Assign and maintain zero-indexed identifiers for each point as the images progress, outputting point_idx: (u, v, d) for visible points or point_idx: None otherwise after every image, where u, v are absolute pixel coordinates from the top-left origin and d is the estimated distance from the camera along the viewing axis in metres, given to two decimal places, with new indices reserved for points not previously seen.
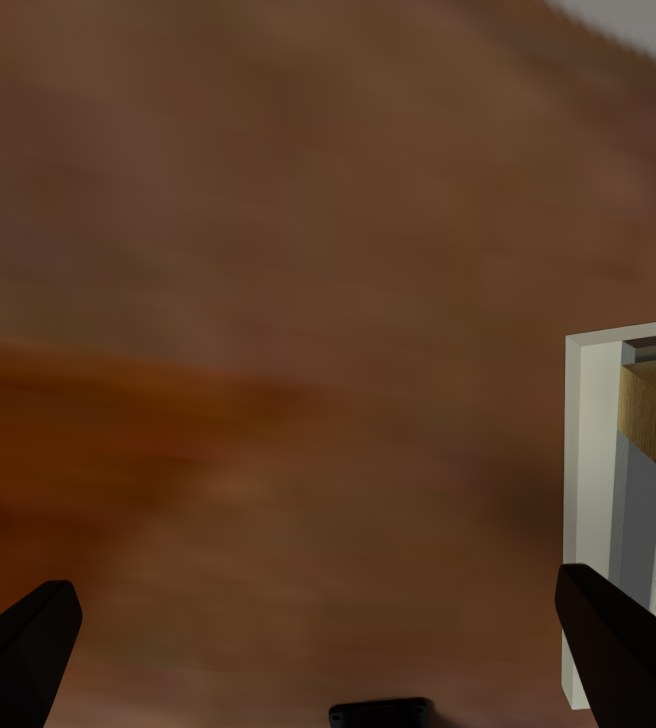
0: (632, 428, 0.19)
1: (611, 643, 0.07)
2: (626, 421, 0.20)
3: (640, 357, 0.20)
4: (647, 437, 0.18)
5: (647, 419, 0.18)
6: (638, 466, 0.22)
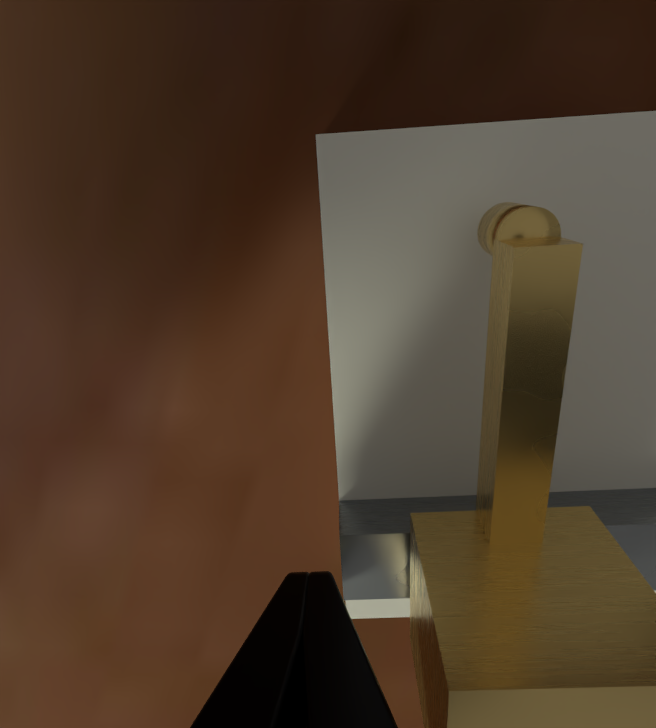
0: None
1: (303, 651, 0.07)
2: None
3: (365, 590, 0.09)
4: None
5: None
6: (654, 570, 0.09)
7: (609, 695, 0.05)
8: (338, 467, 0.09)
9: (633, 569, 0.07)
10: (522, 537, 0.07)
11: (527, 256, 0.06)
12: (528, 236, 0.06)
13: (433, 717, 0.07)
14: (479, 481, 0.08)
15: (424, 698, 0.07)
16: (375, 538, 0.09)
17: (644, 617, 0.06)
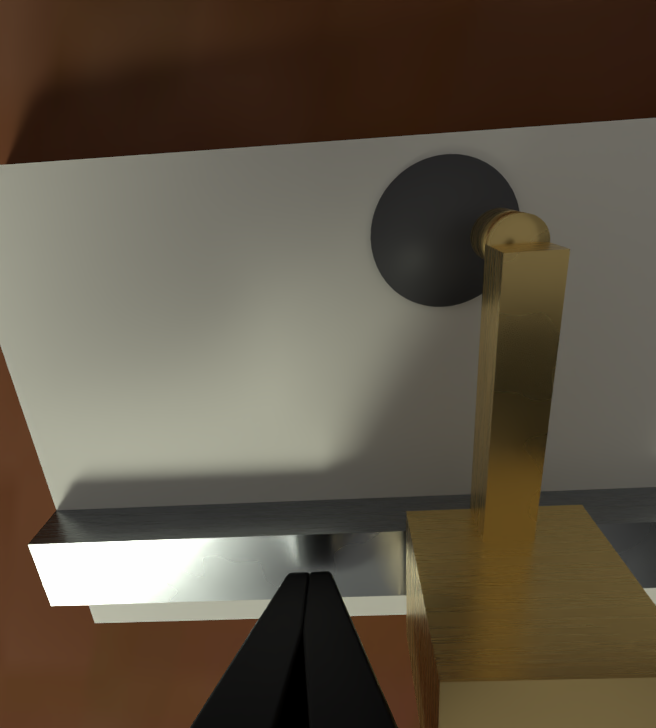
0: None
1: (303, 651, 0.07)
2: None
3: (68, 596, 0.10)
4: None
5: None
6: None
7: (595, 685, 0.05)
8: (46, 479, 0.10)
9: (622, 566, 0.07)
10: (515, 535, 0.07)
11: (516, 261, 0.06)
12: (518, 241, 0.06)
13: (427, 709, 0.07)
14: (473, 480, 0.08)
15: (419, 692, 0.08)
16: (61, 547, 0.09)
17: (631, 612, 0.06)
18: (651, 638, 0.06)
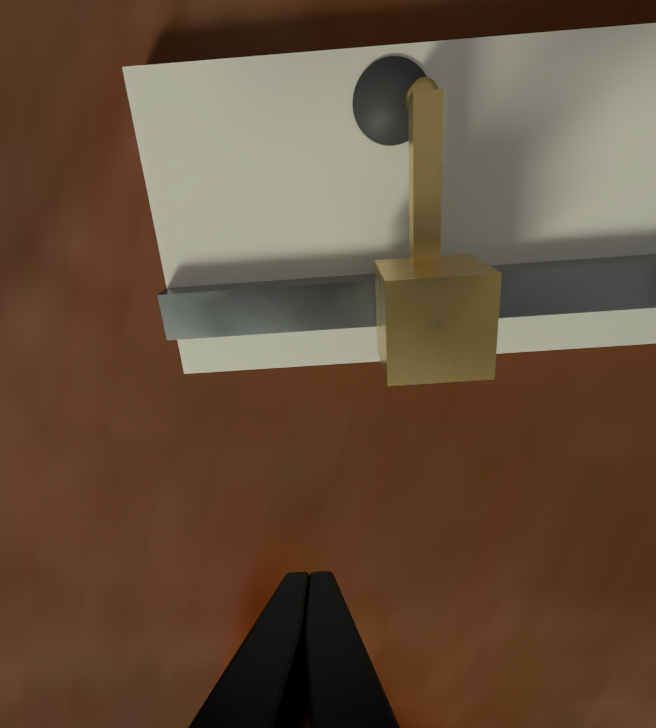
0: None
1: None
2: None
3: (178, 333, 0.16)
4: None
5: None
6: (334, 315, 0.16)
7: (453, 281, 0.12)
8: (162, 265, 0.16)
9: (480, 261, 0.14)
10: (429, 258, 0.14)
11: (419, 95, 0.13)
12: None
13: (383, 332, 0.14)
14: (409, 236, 0.15)
15: (381, 346, 0.14)
16: (177, 296, 0.16)
17: (477, 266, 0.13)
18: (483, 269, 0.13)
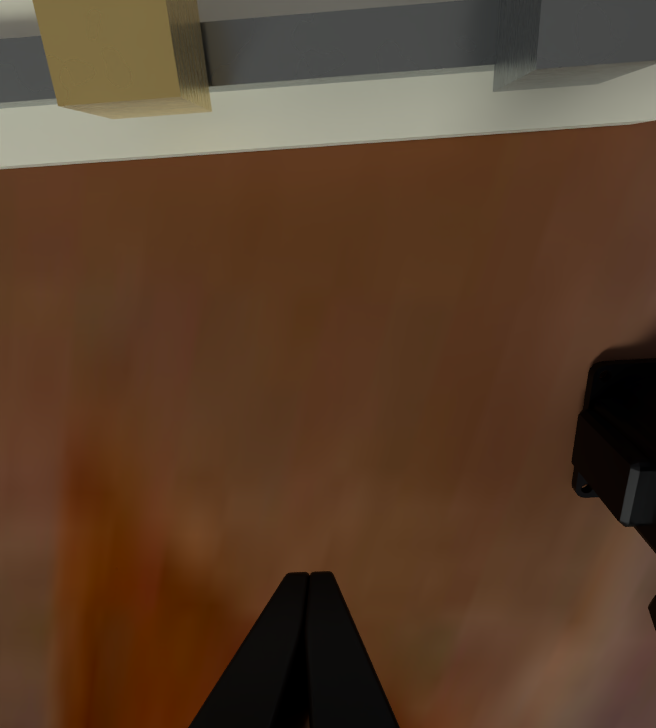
0: (179, 109, 0.13)
1: None
2: (181, 110, 0.14)
3: None
4: (161, 104, 0.12)
5: (134, 107, 0.12)
6: None
7: None
8: None
9: None
10: None
11: None
12: None
13: None
14: None
15: None
16: None
17: None
18: None
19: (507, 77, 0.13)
